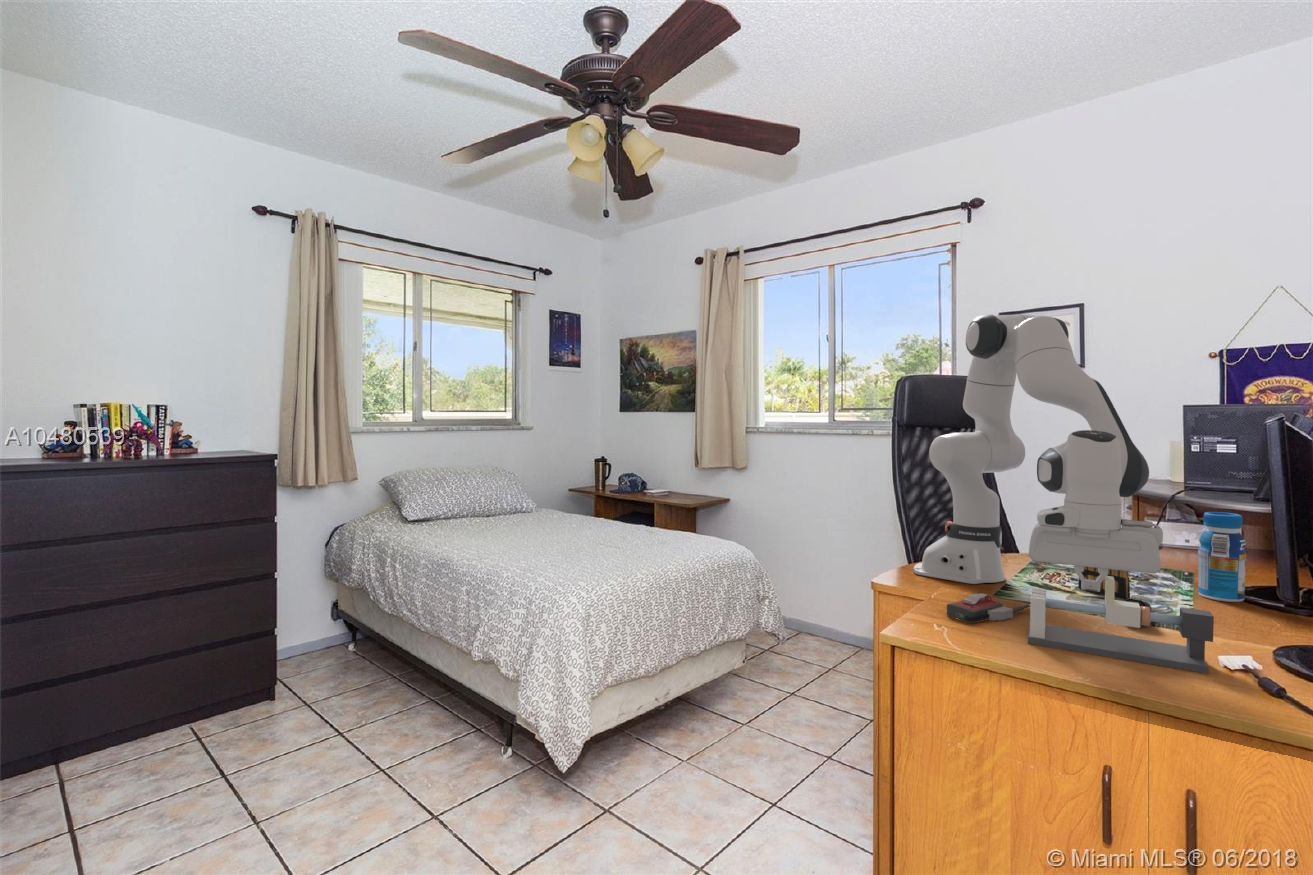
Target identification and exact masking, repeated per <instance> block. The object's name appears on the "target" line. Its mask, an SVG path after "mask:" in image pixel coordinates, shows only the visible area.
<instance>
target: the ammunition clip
mask: <svg viewBox="0 0 1313 875" xmlns="http://www.w3.org/2000/svg"><path fill="white" fill-rule="evenodd" d="M1081 573H1082V574H1083V576H1084V577H1085V579H1089V580H1096V579H1097V578H1098V576H1099V575H1100V574H1099V572H1098V568H1095V567H1085V566H1084V572H1081ZM1107 576H1112V577H1114V580H1115V592H1114V598H1118V599H1120V600H1121V599H1122V600H1124V601H1125V600H1127V599H1130V598H1131V586H1130V584H1131V583H1130V581H1131V580H1130V576H1129V571H1123V570H1113V569H1108V575H1107ZM1078 589H1080V590H1082V589H1081V580H1080V578H1079V577H1078ZM1086 591H1088V592H1091V591H1090V590H1086ZM1092 593H1096V594H1101V595H1103V596H1105V579H1104V580H1103V581H1102V583H1100V592H1098V591H1093V592H1092Z"/></svg>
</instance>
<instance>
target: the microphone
mask: <svg viewBox="0 0 1313 875" xmlns="http://www.w3.org/2000/svg"><path fill="white" fill-rule="evenodd" d="M1124 601H1126V602H1134V603H1139V606H1140V608H1141V606H1144V607H1150V612H1151V613H1152V611H1151V609H1152V606H1151V604H1150V603H1149V602H1148V601H1143V600H1141V599H1136V598H1131V597H1130V599H1126V600H1125V599H1124ZM1141 627H1144V626H1143V625H1141V623H1140V628H1141Z"/></svg>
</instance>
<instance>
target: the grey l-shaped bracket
mask: <svg viewBox="0 0 1313 875" xmlns="http://www.w3.org/2000/svg"><path fill="white" fill-rule="evenodd" d="M1114 592H1115V580H1114V577H1112V576H1107V577H1106V578H1105V595H1104V606H1106V615H1104V621H1105V622H1104V623H1105V624H1108V625H1109V624H1110V625H1111V624H1112V625H1118V626H1125V627H1130V628H1138V629H1140V628H1141V627H1140V611H1141V608H1140V606H1139V603H1134V602H1126V601H1125V600H1117V599H1115V597H1114Z"/></svg>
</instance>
